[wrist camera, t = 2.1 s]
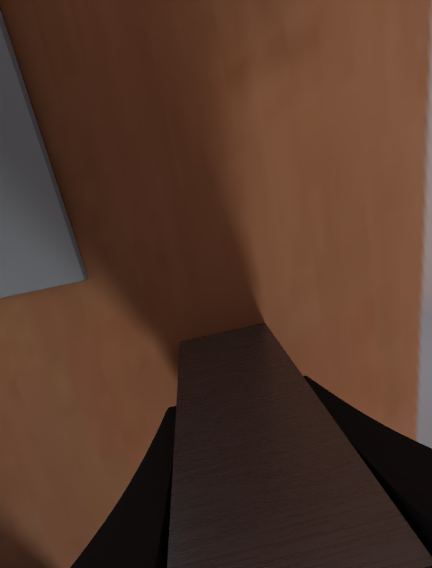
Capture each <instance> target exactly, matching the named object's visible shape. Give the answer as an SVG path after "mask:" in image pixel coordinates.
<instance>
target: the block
mask: <svg viewBox="0 0 432 568" xmlns="http://www.w3.org/2000/svg"><path fill="white" fill-rule="evenodd" d="M167 568H432V556H431V555H430V554H429V552H428V551H427V549H426V548H425V547H424V545H423V544H422V542H421V541H420V540H419V538H418V537H417V535H416V534H415V533H414V531H413V530H412V528H411V527H410V526H409V524H408V523H407V521H406V520H405V519H404V517H403V516H402V514H401V513H400V512H399V510H398V509H397V507H396V506H395V504H394V503H393V502H392V500H391V499H390V497H389V496H388V495H387V493H386V492H385V490H384V489H383V488H382V486H381V485H380V483H379V482H378V481H377V479H376V478H375V476H374V475H373V474H372V472H371V471H370V469H369V468H368V467H367V465H366V464H365V462H364V461H363V460H362V458H361V457H360V455H359V454H358V453H357V451H356V450H355V448H354V447H353V446H352V444H351V443H350V441H349V440H348V439H347V437H346V436H345V434H344V433H343V432H342V430H341V429H340V427H339V426H338V425H337V423H336V422H335V420H334V419H333V418H332V416H331V415H330V413H329V412H328V411H327V409H326V408H325V406H324V405H323V403H322V402H321V401H320V399H319V398H318V396H317V395H316V394H315V392H314V391H313V389H312V388H311V387H310V385H309V384H308V382H307V381H306V380H305V378H304V377H303V375H302V374H301V373H300V371H299V370H298V368H297V367H296V366H295V364H294V363H293V361H292V360H291V359H290V357H289V356H288V354H287V353H286V352H285V350H284V349H283V347H282V346H281V345H280V343H279V342H278V340H277V339H276V338H275V336H274V335H273V333H272V332H271V331H270V329H269V328H268V326H267V325H266V324H265V323H264V324H259V325H255V326H250V327H246V328H241V329H237V330H232V331H228V332H223V333H219V334H214V335H210V336H205V337H201V338H196V339H192V340H187V341H183V342H180V355H179V372H178V389H177V406H176V423H175V440H174V457H173V474H172V491H171V508H170V525H169V542H168V559H167Z"/></svg>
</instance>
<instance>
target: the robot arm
mask: <svg viewBox="0 0 432 568" xmlns="http://www.w3.org/2000/svg"><path fill="white" fill-rule="evenodd" d="M303 377H304V378H305V380H306V381H307V382H308V384H309V385H310V387H311V388H312V389H313V391H314V392H315V394H316V395H317V396H318V398H319V399H320V401H321V402H322V403H323V405H324V406H325V408H326V409H327V411H328V412H329V413H330V415H331V416H332V418H333V419H334V420H335V422H336V423H337V425H338V426H339V427H340V429H341V430H342V432H343V433H344V434H345V436H346V437H347V439H348V440H349V441H350V443H351V444H352V446H353V447H354V448H355V450H356V451H357V453H358V454H359V455H360V457H361V458H362V460H363V461H364V462H365V464H366V465H367V467H368V468H369V469H370V471H371V472H372V474H373V475H374V476H375V478H376V479H377V481H378V482H379V483H380V485H381V486H382V488H383V489H384V490H385V492H386V493H387V495H388V496H389V497H390V499H391V500H392V502H393V503H394V504H395V506H396V507H397V509H398V510H399V512H400V513H401V514H402V516H403V517H404V519H405V520H406V521H407V523H408V524H409V526H410V527H411V528H412V530H413V531H414V533H415V534H416V535H417V537H418V538H419V540H420V541H421V542H422V544H423V545H424V547H425V548H426V549H427V551H428V552H429V554H430V555H431V556H432V449H431V448H429V447H427V446H425V445H422V444H420V443H418V442H416V441H414V440H412V439H410V438H408V437H406V436H404V435H402V434H400V433H398V432H396V431H394V430H392V429H390V428H388V427H386V426H384V425H383V424H381V423H379V422H377V421H376V420H374V419H372V418H370V417H369V416H367V415H365V414H363V413H362V412H360V411H358V410H357V409H355V408H354V407H352V406H351V405H349V404H347V403H346V402H344V401H343V400H341V399H340V398H338V397H337V396H335V395H334V394H332V393H331V392H329V391H328V390H326V389H325V388H323V387H322V386H321V385H319V384H318V383H316V382H315V381H313V380H312V379H310V378H309V377H307V376H303ZM175 423H176V406H173V407H169V408H168V409H167V411H166V413H165V416H164V418H163V420H162V422H161V425H160V427H159V429H158V431H157V433H156V435H155V437H154V439H153V441H152V443H151V445H150V447H149V449H148V451H147V453H146V455H145V457H144V459H143V461H142V462H141V464H140V466H139V468H138V469H137V471H136V473H135V475H134V476H133V478H132V480H131V482H130V483H129V485H128V487H127V488H126V490H125V492H124V493H123V495H122V496H121V498H120V500H119V501H118V503H117V504H116V506H115V507H114V509H113V510H112V512H111V513H110V515H109V516H108V518H107V519H106V521H105V522H104V523H103V525H102V526H101V528H100V529H99V530H98V532H97V533H96V534H95V536H94V537H93V539H92V540H91V541H90V543H89V544H88V545H87V547H86V548H85V549H84V551H83V552H82V553H81V555H80V556H79V557H78V559H77V560H76V561H75V562H74V564H73V565H72V566H71V567H70V568H167V559H168V542H169V525H170V508H171V491H172V474H173V457H174V440H175Z"/></svg>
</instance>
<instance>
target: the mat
mask: <svg viewBox="0 0 432 568" xmlns="http://www.w3.org/2000/svg"><path fill="white" fill-rule="evenodd" d="M87 278H88V276H87V273H86V270H85V267H84V264H83V261H82V258H81V255H80V252H79V249H78V245H77V242H76V239H75V236H74V233H73V230H72V227H71V224H70V221H69V218H68V215H67V212H66V209H65V206H64V203H63V200H62V197H61V194H60V190H59V187H58V184H57V181H56V178H55V175H54V172H53V169H52V166H51V163H50V160H49V157H48V154H47V151H46V148H45V145H44V142H43V139H42V136H41V132H40V129H39V126H38V123H37V120H36V117H35V114H34V111H33V108H32V105H31V102H30V99H29V96H28V93H27V90H26V87H25V84H24V81H23V77H22V74H21V71H20V68H19V65H18V62H17V59H16V56H15V53H14V50H13V47H12V44H11V41H10V38H9V35H8V32H7V29H6V26H5V22H4V19H3V16H2V13H1V10H0V298H2V297H6V296H11V295H16V294H21V293H26V292H31V291H35V290H40V289H45V288H50V287H55V286H60V285H64V284H69V283H74V282H79V281H84V280H86V279H87Z"/></svg>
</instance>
